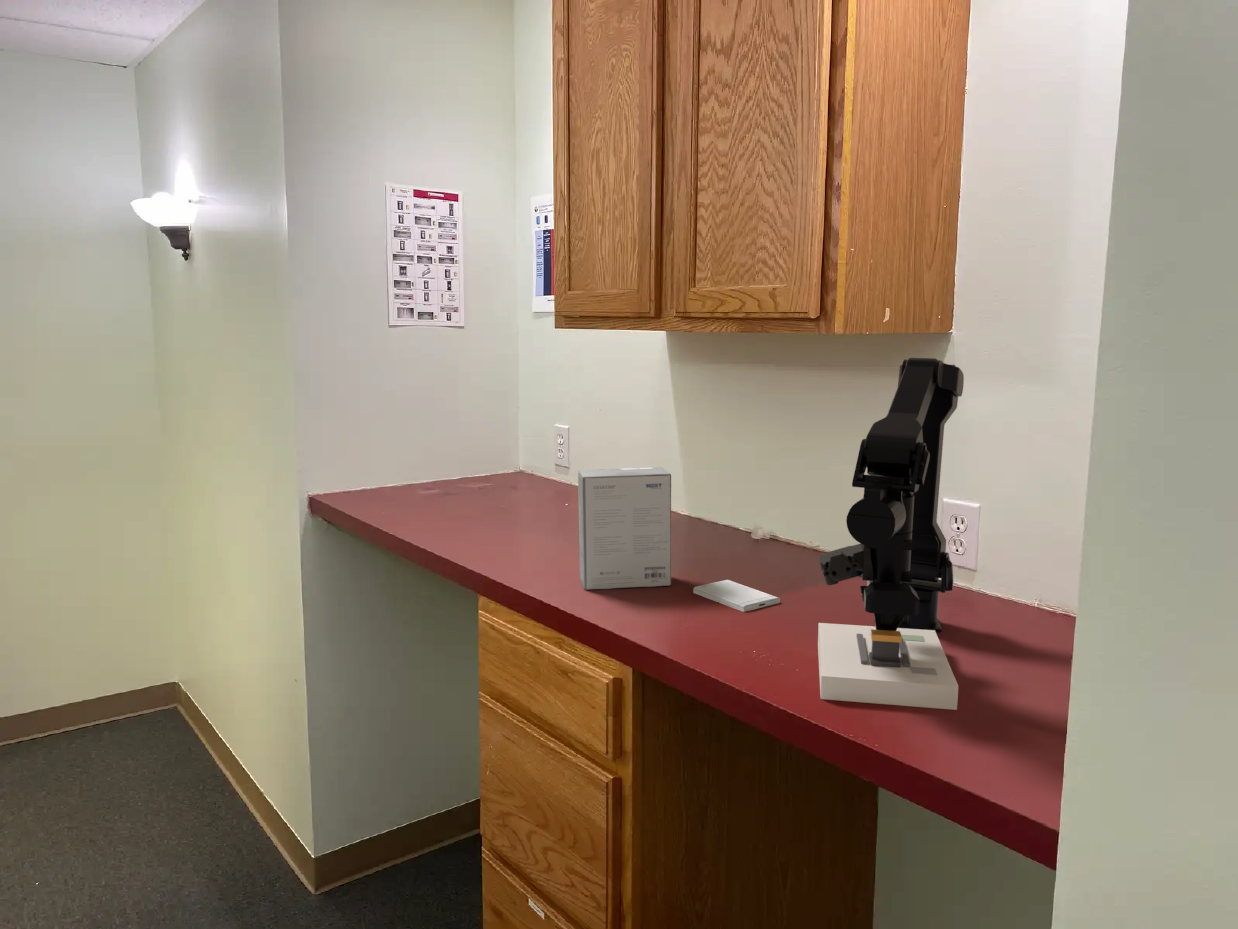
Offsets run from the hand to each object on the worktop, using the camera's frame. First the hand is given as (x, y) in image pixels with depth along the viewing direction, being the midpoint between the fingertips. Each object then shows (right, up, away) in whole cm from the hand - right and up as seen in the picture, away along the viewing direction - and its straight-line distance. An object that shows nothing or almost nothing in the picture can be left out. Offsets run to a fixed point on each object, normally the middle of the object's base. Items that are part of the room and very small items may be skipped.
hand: (882, 646), depth 120 cm
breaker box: (0, -4, +2) cm, 4 cm away
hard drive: (-15, +1, +34) cm, 37 cm away
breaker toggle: (0, -1, -2) cm, 3 cm away
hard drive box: (-33, +3, +42) cm, 54 cm away
